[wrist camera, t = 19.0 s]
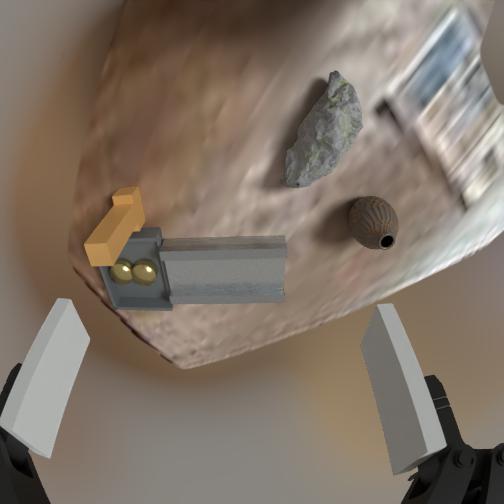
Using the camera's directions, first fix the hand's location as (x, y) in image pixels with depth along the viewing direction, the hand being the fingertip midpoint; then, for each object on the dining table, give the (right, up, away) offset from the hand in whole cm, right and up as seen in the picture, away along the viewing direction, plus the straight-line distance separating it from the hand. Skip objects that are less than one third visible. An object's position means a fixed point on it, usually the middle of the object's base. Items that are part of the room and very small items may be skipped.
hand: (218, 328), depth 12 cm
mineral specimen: (+11, +19, +25) cm, 33 cm away
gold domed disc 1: (-20, +1, +35) cm, 40 cm away
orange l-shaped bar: (-16, +10, +30) cm, 35 cm away
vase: (+18, +9, +31) cm, 37 cm away
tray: (-17, +1, +36) cm, 40 cm away
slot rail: (-3, +1, +36) cm, 36 cm away
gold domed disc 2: (-16, +1, +35) cm, 39 cm away
